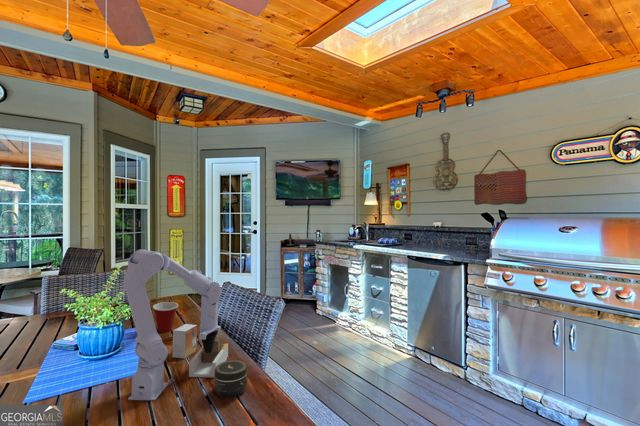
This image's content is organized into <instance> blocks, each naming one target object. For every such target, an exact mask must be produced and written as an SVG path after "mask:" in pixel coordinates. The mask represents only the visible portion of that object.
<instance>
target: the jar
mask: <svg viewBox="0 0 640 426" xmlns="http://www.w3.org/2000/svg"><path fill="white" fill-rule="evenodd" d="M247 374H248V366H247V364H246V363H245V362H244V361H241V360H236V359H235V360H234V359H233V360H231V359H230V360H226V361H225V362H222V363H220V364H219V365H217V366H216V368H215V374H214V377H213V378H214V392H215V394H216V395H217V396H218V397H219V398H223V399H233V398H236V397H240V396H241V395H242V394H243V393H244V392H245V390H246V387H247V383H248V382H247V381H248V380H247V378H248V376H247Z"/></svg>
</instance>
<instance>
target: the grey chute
mask: <svg viewBox="0 0 640 426" xmlns="http://www.w3.org/2000/svg"><path fill="white" fill-rule="evenodd" d="M227 357H228V358H229V343H222V349H221V351H220V352H219V354H218V355H217V357H216V358H215V359H214V361H213V362H203V345H202V346H201V348H200V349H199V350H198V351H197V352H196V354H195V355H194V356H193V357H192V358H191V359H190V361H189V362H188V378H215V377H214V374H215V368H216V366H217V365H219V364H220V363H222V362H225V361H227V359H228V358H227Z"/></svg>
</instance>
